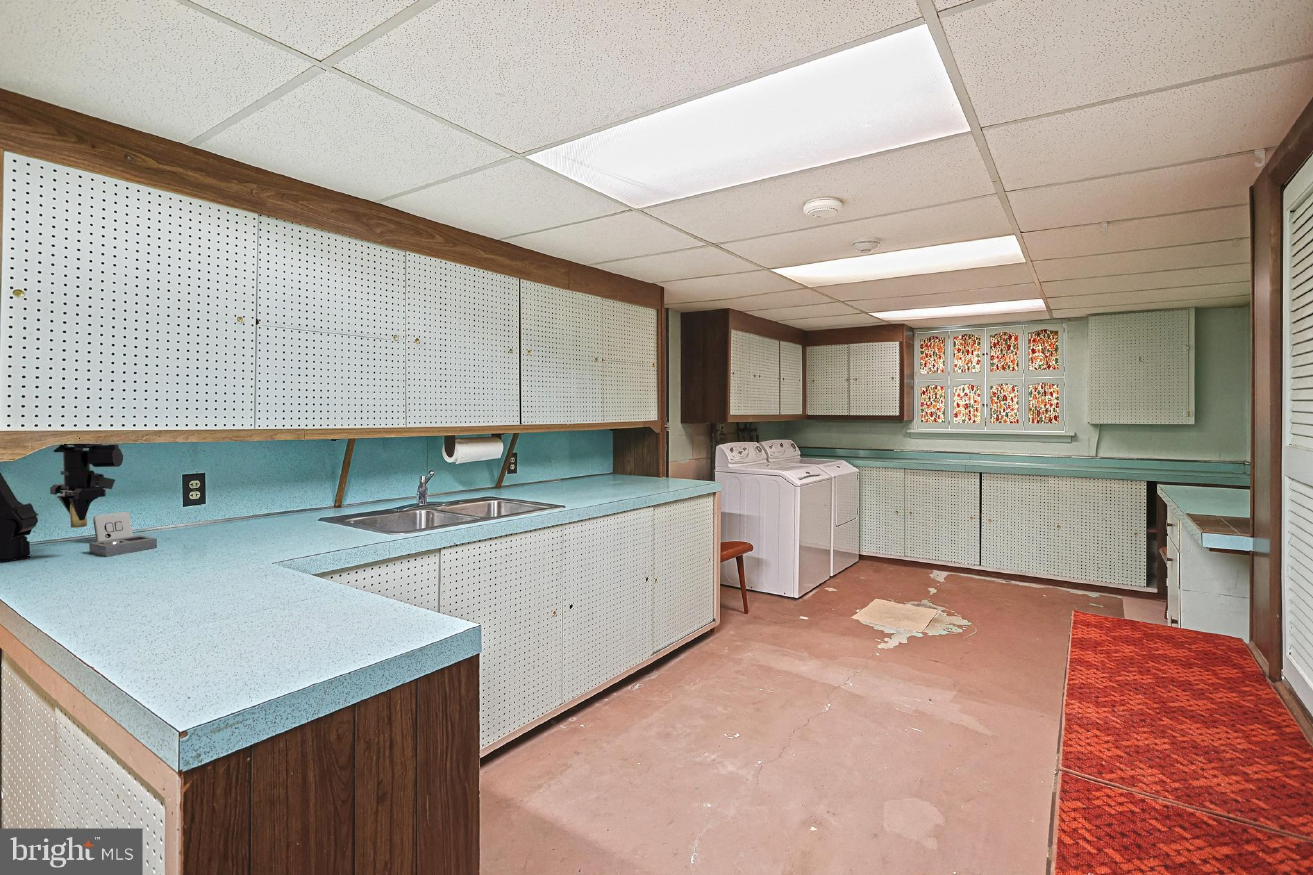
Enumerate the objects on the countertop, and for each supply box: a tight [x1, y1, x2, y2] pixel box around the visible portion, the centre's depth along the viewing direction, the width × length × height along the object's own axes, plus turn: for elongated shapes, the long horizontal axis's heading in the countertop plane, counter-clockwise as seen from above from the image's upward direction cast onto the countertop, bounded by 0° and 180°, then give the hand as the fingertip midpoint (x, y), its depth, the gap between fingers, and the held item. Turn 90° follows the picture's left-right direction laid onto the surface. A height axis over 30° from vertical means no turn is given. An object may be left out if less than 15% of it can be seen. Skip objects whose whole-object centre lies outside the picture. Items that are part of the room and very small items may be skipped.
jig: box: [88, 535, 158, 558], centre depth 192 cm, size 13×10×3 cm
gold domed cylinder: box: [69, 503, 88, 529], centre depth 183 cm, size 4×4×7 cm
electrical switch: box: [92, 511, 134, 542], centre depth 205 cm, size 9×5×9 cm, turn 152°
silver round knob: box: [104, 540, 120, 545], centre depth 189 cm, size 4×4×4 cm
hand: (78, 519), depth 183 cm, fingers closed on gold domed cylinder, 4 cm apart
